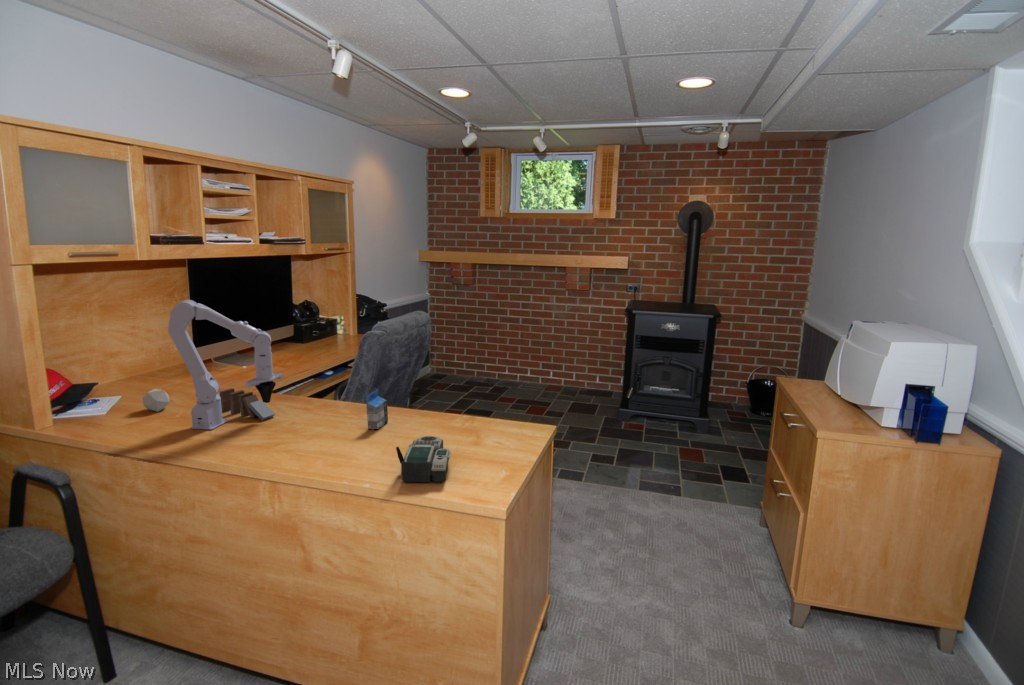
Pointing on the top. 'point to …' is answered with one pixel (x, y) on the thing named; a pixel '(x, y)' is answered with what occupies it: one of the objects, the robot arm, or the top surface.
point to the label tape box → (376, 411)
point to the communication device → (424, 460)
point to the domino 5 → (261, 410)
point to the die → (156, 400)
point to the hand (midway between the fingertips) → (266, 402)
